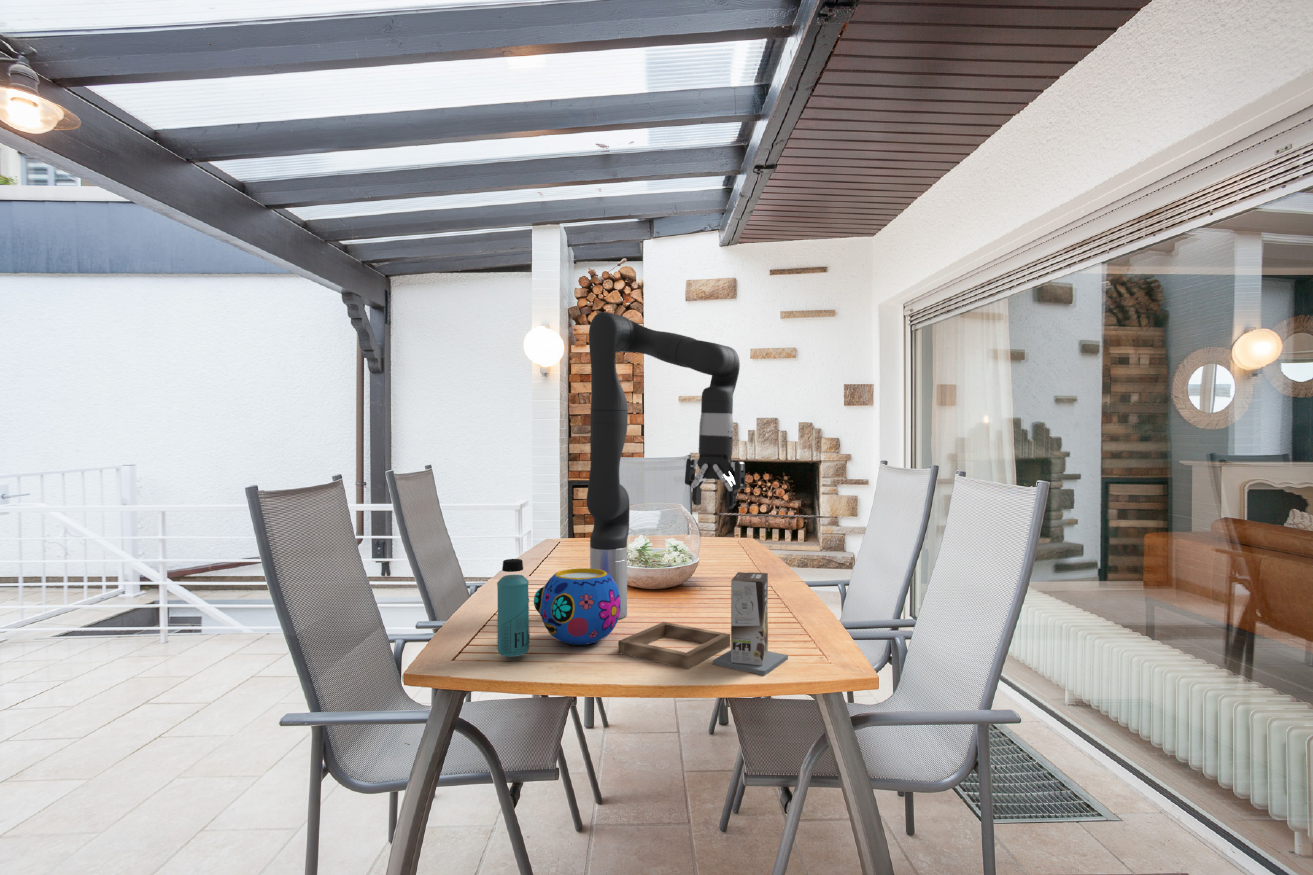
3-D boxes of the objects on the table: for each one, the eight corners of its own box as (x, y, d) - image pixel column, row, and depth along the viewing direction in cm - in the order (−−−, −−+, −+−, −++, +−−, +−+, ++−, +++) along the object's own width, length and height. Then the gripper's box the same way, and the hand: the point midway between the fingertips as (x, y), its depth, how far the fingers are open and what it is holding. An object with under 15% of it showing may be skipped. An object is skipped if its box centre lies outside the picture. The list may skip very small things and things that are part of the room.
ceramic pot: (525, 639, 144) (525, 571, 144) (594, 625, 155) (593, 562, 155) (564, 660, 130) (564, 585, 130) (637, 643, 141) (636, 574, 141)
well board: (618, 653, 135) (618, 640, 135) (663, 632, 149) (663, 621, 149) (688, 669, 125) (688, 656, 125) (730, 645, 139) (730, 634, 139)
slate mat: (712, 664, 128) (712, 659, 128) (738, 649, 137) (738, 645, 137) (764, 675, 122) (764, 671, 122) (787, 658, 131) (787, 654, 131)
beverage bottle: (513, 666, 127) (513, 563, 127) (489, 660, 130) (489, 560, 130) (536, 657, 132) (536, 558, 132) (512, 651, 136) (512, 555, 136)
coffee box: (763, 666, 124) (763, 581, 124) (730, 663, 126) (729, 579, 126) (769, 651, 133) (768, 572, 133) (737, 648, 135) (737, 570, 135)
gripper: (680, 432, 147) (677, 504, 147) (736, 434, 139) (733, 510, 139) (697, 433, 153) (695, 502, 153) (752, 435, 145) (749, 508, 145)
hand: (713, 506), depth 146 cm, fingers open, 8 cm apart
